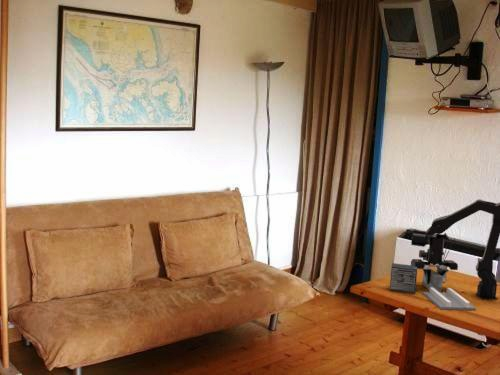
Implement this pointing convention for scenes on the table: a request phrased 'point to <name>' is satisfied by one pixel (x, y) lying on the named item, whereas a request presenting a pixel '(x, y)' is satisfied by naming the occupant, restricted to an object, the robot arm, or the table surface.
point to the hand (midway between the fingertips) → (432, 283)
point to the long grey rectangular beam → (434, 281)
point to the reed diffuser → (444, 260)
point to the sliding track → (448, 300)
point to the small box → (403, 278)
